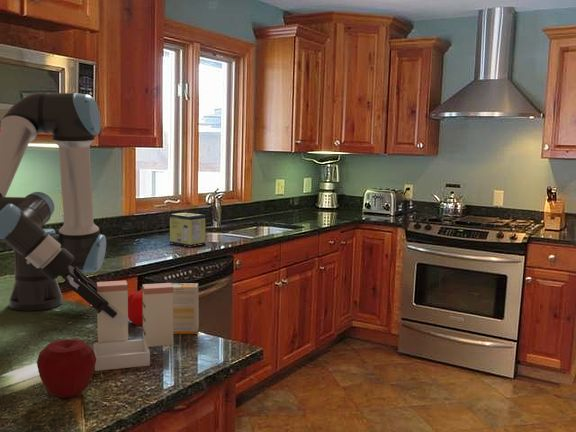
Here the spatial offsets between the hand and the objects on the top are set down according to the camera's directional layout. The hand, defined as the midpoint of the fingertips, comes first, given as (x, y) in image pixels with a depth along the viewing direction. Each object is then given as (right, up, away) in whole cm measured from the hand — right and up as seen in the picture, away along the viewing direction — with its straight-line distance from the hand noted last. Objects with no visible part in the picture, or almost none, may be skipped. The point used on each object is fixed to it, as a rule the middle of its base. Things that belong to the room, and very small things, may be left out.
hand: (124, 319), depth 144 cm
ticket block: (+8, -7, +4) cm, 11 cm away
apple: (-3, -10, -28) cm, 30 cm away
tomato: (+1, -5, +19) cm, 20 cm away
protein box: (-10, +11, +149) cm, 150 cm away
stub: (-3, -5, 0) cm, 5 cm away
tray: (+2, -8, -9) cm, 12 cm away
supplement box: (+12, -6, +13) cm, 19 cm away
